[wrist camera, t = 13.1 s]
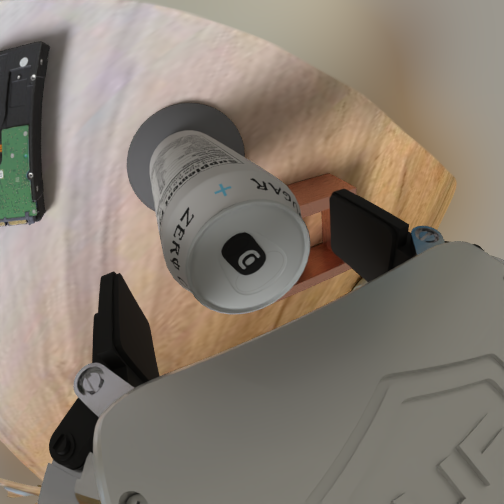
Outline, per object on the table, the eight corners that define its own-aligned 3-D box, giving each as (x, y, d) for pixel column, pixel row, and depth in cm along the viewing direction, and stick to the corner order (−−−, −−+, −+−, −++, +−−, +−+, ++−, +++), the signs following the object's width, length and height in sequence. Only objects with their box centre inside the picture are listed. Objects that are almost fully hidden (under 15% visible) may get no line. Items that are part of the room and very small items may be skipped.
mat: (251, 195, 26) (253, 197, 26) (149, 230, 24) (149, 233, 24) (231, 90, 20) (233, 90, 20) (112, 125, 18) (111, 126, 18)
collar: (330, 247, 34) (352, 267, 30) (258, 277, 32) (274, 302, 28) (329, 173, 28) (356, 187, 25) (242, 199, 26) (261, 218, 23)
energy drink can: (179, 212, 24) (234, 344, 12) (134, 162, 20) (130, 268, 8) (233, 167, 24) (341, 259, 12) (192, 114, 20) (279, 145, 8)
